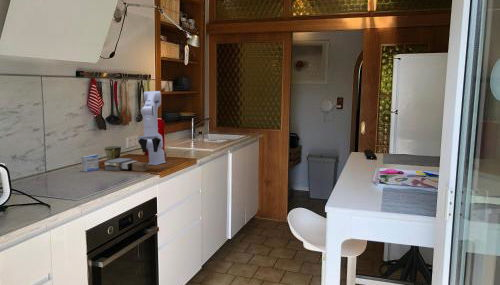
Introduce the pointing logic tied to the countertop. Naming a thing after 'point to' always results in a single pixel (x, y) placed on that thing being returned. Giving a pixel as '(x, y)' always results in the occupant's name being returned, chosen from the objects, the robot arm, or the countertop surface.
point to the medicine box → (90, 163)
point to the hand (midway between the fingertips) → (150, 152)
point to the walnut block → (140, 166)
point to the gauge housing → (112, 163)
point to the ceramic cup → (112, 152)
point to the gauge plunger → (126, 164)
